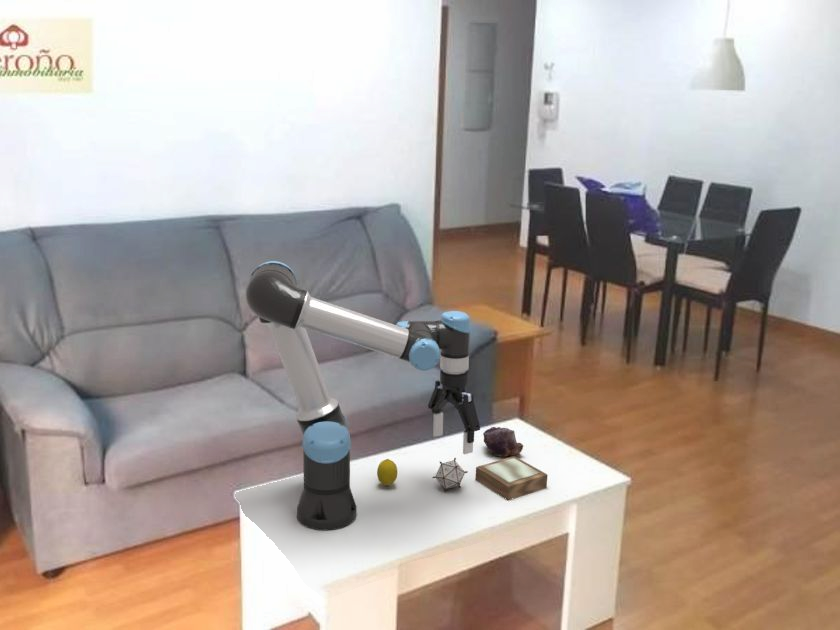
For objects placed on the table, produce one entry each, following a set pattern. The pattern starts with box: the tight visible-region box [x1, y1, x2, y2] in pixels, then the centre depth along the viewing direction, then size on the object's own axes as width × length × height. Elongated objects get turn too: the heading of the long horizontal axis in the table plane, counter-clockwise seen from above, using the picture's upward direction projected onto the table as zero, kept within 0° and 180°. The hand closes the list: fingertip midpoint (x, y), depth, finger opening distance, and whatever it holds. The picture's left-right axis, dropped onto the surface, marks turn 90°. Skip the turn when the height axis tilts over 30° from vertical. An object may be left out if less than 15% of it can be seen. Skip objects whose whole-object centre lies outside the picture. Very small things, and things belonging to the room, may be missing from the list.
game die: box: [432, 457, 469, 493], centre depth 236 cm, size 9×8×10 cm
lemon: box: [376, 458, 398, 487], centre depth 236 cm, size 6×6×8 cm
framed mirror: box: [475, 455, 548, 501], centre depth 240 cm, size 14×14×4 cm
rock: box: [482, 426, 524, 458], centre depth 258 cm, size 12×9×10 cm
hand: (452, 444), depth 233 cm, fingers open, 13 cm apart
